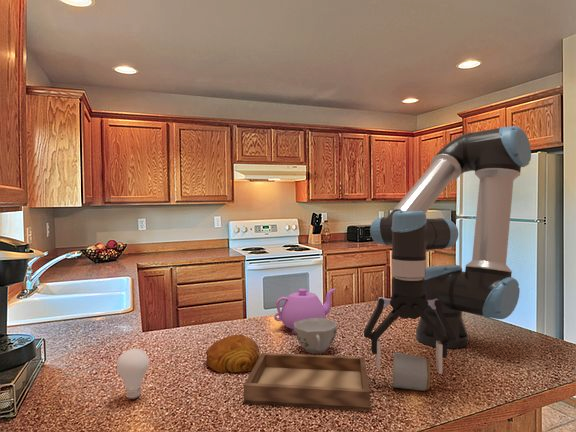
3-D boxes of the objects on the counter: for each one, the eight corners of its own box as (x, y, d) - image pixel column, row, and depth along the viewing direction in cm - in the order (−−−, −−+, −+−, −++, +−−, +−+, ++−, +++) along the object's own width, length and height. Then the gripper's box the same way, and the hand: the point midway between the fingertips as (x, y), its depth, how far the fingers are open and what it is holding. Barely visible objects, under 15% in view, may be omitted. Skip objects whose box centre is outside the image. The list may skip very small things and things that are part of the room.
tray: (364, 372, 97) (364, 357, 96) (369, 411, 78) (369, 392, 78) (262, 368, 100) (261, 352, 100) (243, 403, 82) (243, 385, 82)
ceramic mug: (431, 397, 84) (431, 362, 84) (392, 393, 86) (392, 358, 86) (427, 377, 94) (427, 346, 94) (392, 374, 96) (392, 343, 96)
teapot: (330, 320, 142) (329, 283, 142) (343, 333, 127) (343, 292, 127) (271, 324, 138) (270, 286, 138) (277, 338, 123) (277, 295, 123)
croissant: (255, 358, 113) (255, 330, 114) (263, 372, 98) (263, 340, 99) (205, 361, 110) (205, 332, 111) (205, 377, 95) (205, 343, 96)
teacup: (293, 343, 119) (293, 317, 118) (334, 342, 119) (333, 316, 119) (295, 362, 104) (294, 333, 103) (341, 361, 104) (341, 332, 104)
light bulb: (123, 392, 88) (122, 344, 88) (153, 390, 89) (152, 343, 88) (112, 407, 81) (111, 355, 81) (145, 405, 82) (143, 354, 82)
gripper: (460, 276, 90) (460, 365, 91) (353, 273, 94) (353, 360, 94) (471, 281, 83) (470, 379, 83) (354, 278, 87) (353, 372, 87)
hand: (408, 369), depth 89 cm, fingers open, 13 cm apart
